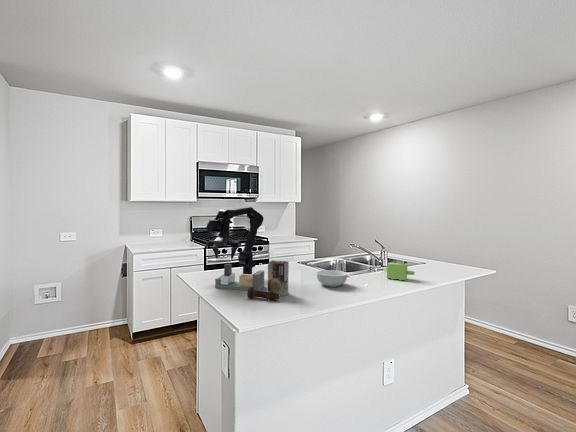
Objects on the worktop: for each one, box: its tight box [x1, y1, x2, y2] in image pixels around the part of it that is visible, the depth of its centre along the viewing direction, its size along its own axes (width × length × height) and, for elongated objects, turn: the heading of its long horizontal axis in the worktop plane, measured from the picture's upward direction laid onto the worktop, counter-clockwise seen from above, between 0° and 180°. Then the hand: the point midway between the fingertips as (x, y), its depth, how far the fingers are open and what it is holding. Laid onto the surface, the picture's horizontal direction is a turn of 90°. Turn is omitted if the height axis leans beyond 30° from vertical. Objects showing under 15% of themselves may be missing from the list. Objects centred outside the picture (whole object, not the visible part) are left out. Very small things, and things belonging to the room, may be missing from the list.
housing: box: [238, 273, 253, 287], centre depth 173 cm, size 6×8×5 cm
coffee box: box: [267, 260, 289, 297], centre depth 163 cm, size 9×6×16 cm
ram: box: [220, 263, 236, 285], centre depth 176 cm, size 9×4×10 cm, turn 166°
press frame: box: [214, 270, 265, 291], centre depth 174 cm, size 10×24×8 cm, turn 76°
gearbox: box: [382, 262, 415, 281], centre depth 199 cm, size 18×10×10 cm, turn 62°
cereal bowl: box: [316, 269, 348, 288], centre depth 182 cm, size 17×17×7 cm
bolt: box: [246, 287, 280, 302], centre depth 154 cm, size 6×5×15 cm
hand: (224, 258), depth 185 cm, fingers open, 9 cm apart
